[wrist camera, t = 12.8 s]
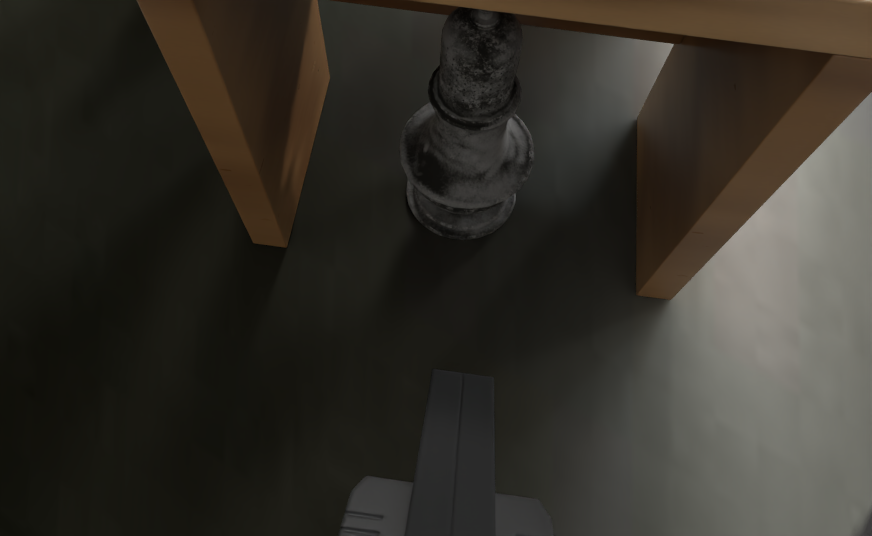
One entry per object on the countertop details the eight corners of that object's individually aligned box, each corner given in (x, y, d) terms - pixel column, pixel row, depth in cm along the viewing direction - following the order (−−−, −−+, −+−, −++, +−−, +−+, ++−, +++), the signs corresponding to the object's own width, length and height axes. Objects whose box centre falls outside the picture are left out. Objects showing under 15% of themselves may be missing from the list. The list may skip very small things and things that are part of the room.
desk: (693, 303, 30) (994, 19, 14) (231, 240, 30) (46, -100, 15) (687, 124, 34) (917, -246, 19) (281, 71, 35) (176, -332, 19)
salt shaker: (531, 153, 33) (591, -52, 22) (510, 257, 31) (566, 84, 20) (416, 130, 33) (419, -85, 22) (386, 230, 31) (373, 45, 20)
